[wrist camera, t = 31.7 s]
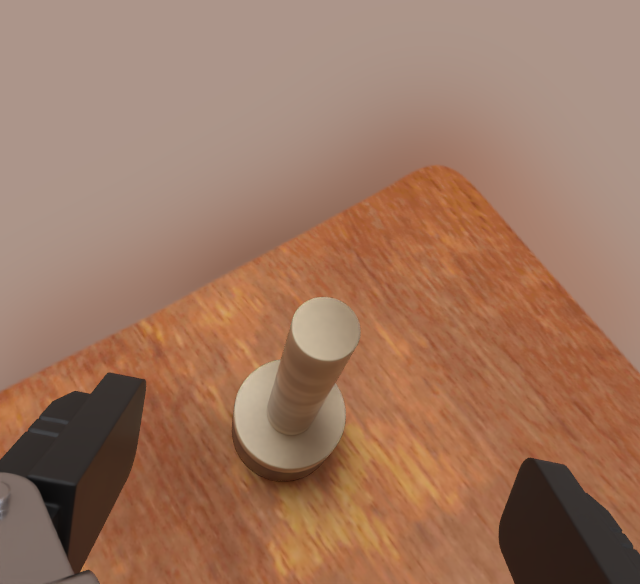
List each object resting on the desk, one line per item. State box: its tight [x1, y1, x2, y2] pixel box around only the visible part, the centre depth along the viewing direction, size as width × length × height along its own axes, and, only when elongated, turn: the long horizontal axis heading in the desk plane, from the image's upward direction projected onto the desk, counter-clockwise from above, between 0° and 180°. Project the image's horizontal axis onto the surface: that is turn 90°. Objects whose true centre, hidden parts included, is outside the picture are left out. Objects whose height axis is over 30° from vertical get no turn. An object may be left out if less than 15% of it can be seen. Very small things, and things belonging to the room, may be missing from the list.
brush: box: [232, 297, 361, 481], centre depth 26 cm, size 6×6×14 cm
